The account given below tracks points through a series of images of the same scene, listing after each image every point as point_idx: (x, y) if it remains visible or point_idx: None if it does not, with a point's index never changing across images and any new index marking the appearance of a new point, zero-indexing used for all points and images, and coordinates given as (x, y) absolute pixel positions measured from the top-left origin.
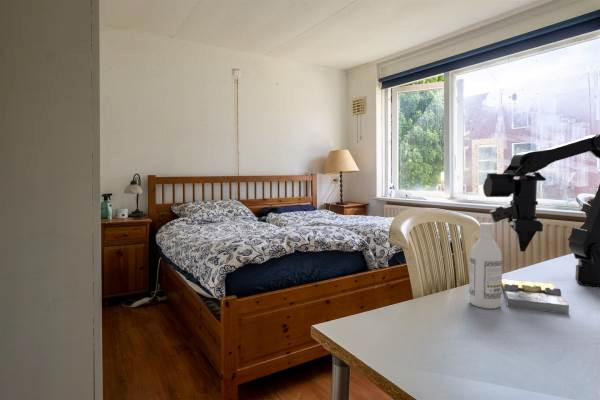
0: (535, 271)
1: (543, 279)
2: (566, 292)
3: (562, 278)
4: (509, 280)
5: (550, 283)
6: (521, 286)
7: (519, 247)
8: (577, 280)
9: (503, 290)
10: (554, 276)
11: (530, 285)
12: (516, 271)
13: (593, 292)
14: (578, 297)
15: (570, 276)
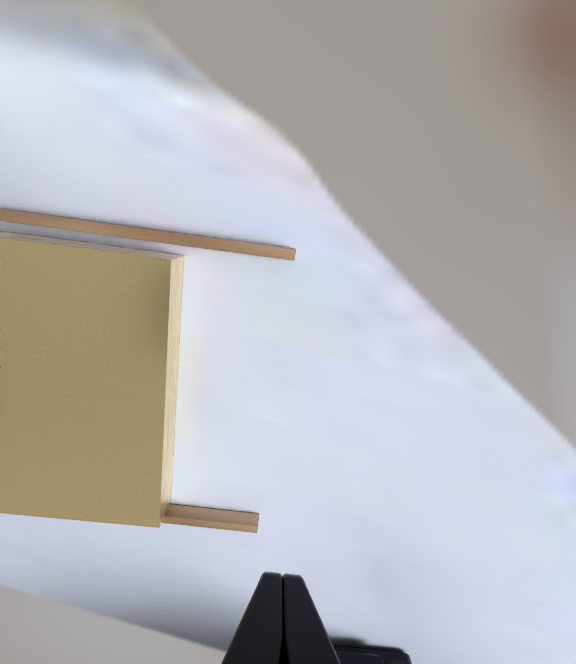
0: (557, 534)
1: (386, 524)
2: (165, 549)
3: (419, 607)
4: (161, 314)
5: (252, 529)
6: (26, 352)
7: (288, 611)
8: (373, 651)
9: (16, 235)
10: (455, 587)
11: (75, 411)
12: (556, 436)
13: (202, 642)
14: (99, 569)
15: (462, 648)
